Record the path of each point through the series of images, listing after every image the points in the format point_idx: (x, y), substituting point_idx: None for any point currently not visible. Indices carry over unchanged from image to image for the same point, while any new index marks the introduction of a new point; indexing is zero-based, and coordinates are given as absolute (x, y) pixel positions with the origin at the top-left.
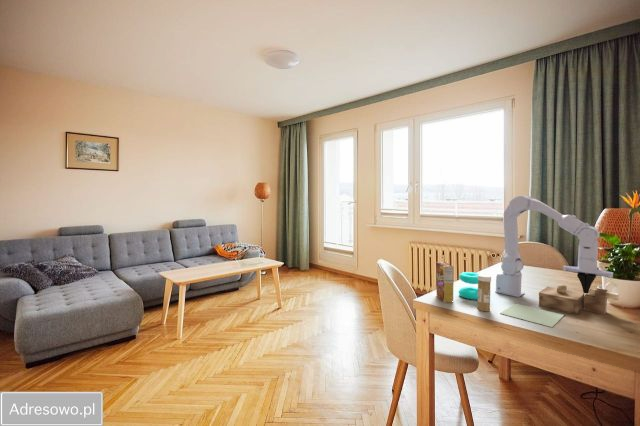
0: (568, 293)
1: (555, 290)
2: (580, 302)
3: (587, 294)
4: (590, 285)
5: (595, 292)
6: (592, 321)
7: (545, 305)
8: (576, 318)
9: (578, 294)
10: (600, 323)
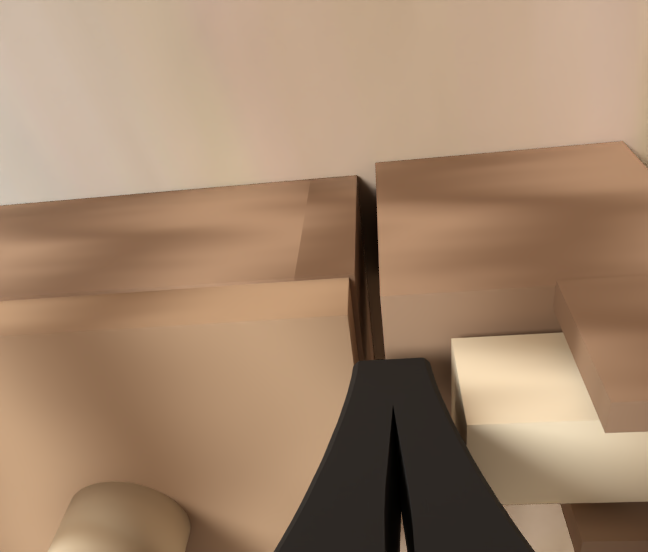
0: (197, 488)
1: (9, 473)
2: None
3: (411, 349)
4: (477, 491)
5: (571, 515)
6: (513, 517)
7: None
8: (404, 532)
9: (310, 447)
10: None
